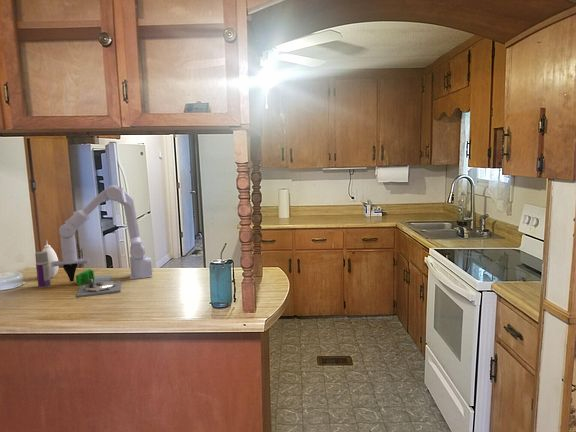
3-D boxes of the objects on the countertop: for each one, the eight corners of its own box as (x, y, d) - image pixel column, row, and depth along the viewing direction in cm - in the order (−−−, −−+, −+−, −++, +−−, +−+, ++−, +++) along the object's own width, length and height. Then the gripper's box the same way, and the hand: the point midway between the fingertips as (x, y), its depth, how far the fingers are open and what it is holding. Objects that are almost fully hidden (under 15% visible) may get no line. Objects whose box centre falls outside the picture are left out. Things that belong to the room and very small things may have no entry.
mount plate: (120, 282, 181) (120, 280, 181) (120, 292, 167) (120, 290, 167) (80, 287, 175) (80, 285, 175) (77, 297, 162) (76, 295, 161)
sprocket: (102, 281, 180) (102, 271, 179) (122, 284, 174) (121, 274, 173) (76, 289, 169) (75, 278, 168) (96, 293, 163) (95, 282, 162)
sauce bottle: (43, 276, 194) (39, 238, 192) (61, 274, 196) (58, 237, 194) (38, 280, 187) (34, 242, 184) (57, 278, 189) (54, 240, 187)
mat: (111, 276, 192) (111, 275, 192) (110, 283, 180) (110, 283, 180) (95, 278, 190) (95, 277, 189) (93, 285, 178) (92, 285, 178)
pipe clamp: (85, 285, 177) (83, 275, 177) (77, 286, 178) (75, 275, 177) (97, 277, 189) (96, 268, 188) (90, 278, 189) (88, 268, 188)
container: (35, 287, 176) (32, 253, 174) (45, 284, 181) (42, 251, 179) (43, 288, 175) (39, 254, 173) (53, 285, 179) (49, 251, 177)
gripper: (88, 247, 185) (90, 276, 186) (51, 250, 179) (54, 280, 181) (86, 250, 178) (89, 280, 180) (49, 253, 173) (52, 284, 175)
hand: (72, 280), depth 180 cm, fingers closed
